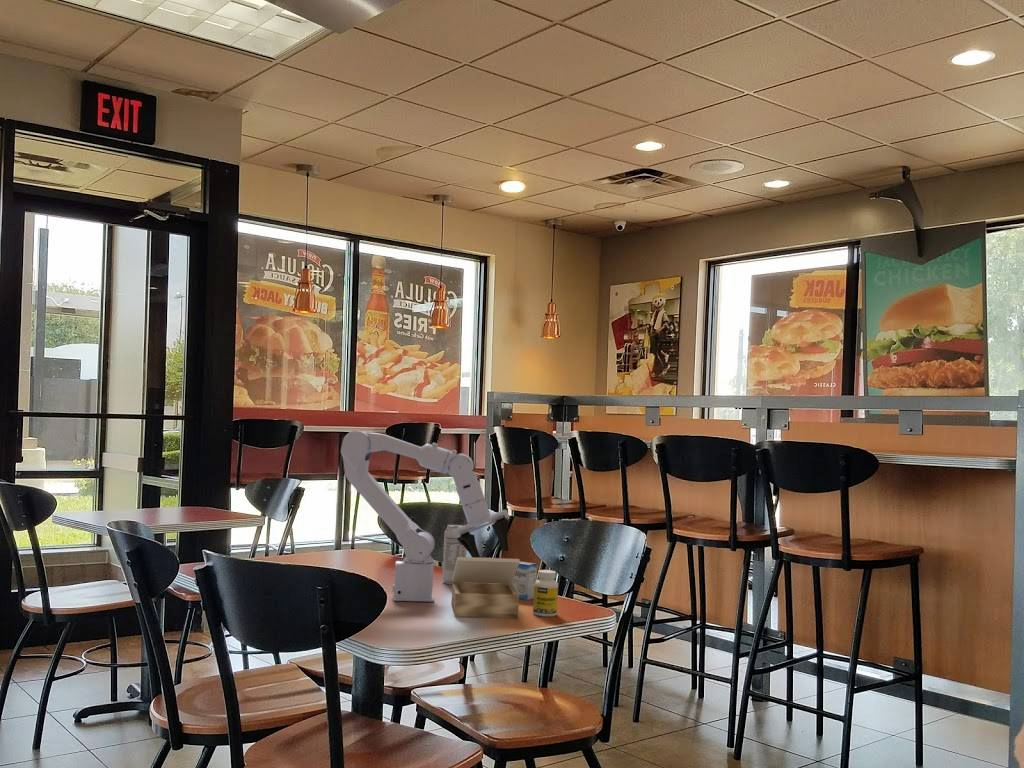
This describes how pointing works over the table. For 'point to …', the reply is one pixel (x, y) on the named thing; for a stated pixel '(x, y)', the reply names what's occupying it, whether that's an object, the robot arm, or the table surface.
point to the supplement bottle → (545, 594)
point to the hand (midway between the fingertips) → (492, 556)
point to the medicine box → (525, 580)
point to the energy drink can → (451, 553)
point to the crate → (484, 600)
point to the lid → (485, 570)
